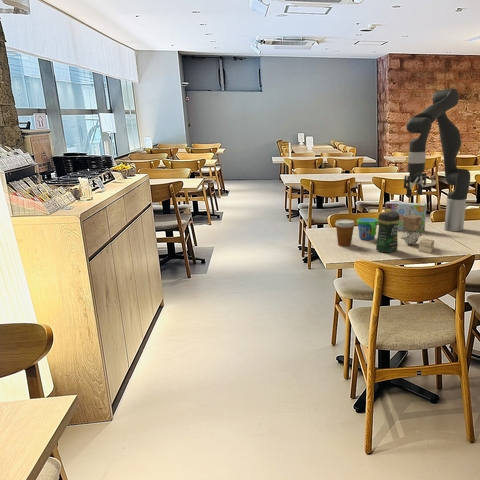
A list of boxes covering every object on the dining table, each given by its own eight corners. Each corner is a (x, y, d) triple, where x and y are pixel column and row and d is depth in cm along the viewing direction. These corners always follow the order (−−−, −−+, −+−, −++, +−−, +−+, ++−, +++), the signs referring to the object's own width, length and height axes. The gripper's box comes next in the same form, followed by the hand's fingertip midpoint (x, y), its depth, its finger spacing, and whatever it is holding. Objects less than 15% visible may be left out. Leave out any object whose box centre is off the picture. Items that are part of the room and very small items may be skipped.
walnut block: (410, 226, 215) (411, 214, 213) (421, 228, 210) (422, 216, 209) (402, 228, 212) (403, 216, 210) (413, 230, 207) (414, 218, 205)
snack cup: (352, 235, 233) (353, 216, 231) (371, 234, 234) (372, 216, 231) (361, 243, 218) (362, 223, 216) (382, 242, 219) (383, 222, 216)
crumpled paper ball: (413, 252, 213) (423, 239, 205) (397, 246, 213) (406, 233, 206) (415, 239, 218) (424, 226, 211) (398, 233, 219) (408, 220, 211)
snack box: (424, 230, 238) (427, 203, 234) (422, 232, 234) (425, 205, 230) (385, 226, 249) (386, 201, 245) (382, 228, 245) (384, 202, 241)
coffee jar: (387, 254, 199) (389, 214, 194) (373, 250, 205) (375, 212, 200) (400, 250, 204) (403, 211, 199) (386, 246, 210) (388, 209, 205)
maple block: (422, 248, 205) (423, 238, 204) (433, 250, 202) (434, 240, 201) (418, 251, 202) (419, 241, 201) (430, 253, 199) (430, 242, 197)
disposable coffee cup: (330, 243, 219) (331, 220, 216) (346, 241, 223) (347, 218, 219) (342, 248, 211) (342, 224, 207) (358, 245, 214) (359, 221, 211)
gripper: (418, 160, 210) (416, 193, 214) (400, 162, 202) (398, 197, 206) (432, 160, 204) (430, 195, 208) (414, 163, 196) (412, 198, 200)
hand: (414, 196), depth 207 cm, fingers open, 8 cm apart
